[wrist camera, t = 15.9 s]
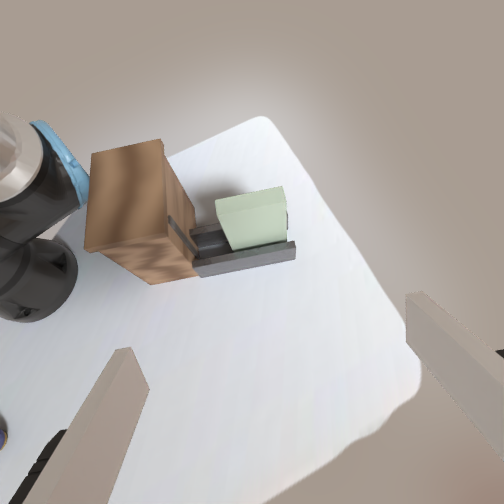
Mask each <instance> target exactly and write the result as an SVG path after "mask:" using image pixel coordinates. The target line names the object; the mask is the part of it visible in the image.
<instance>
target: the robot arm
mask: <svg viewBox="0 0 504 504" xmlns="http://www.w3.org/2000/svg"><path fill="white" fill-rule="evenodd" d="M89 180H90V177H89V176H88V174H87V173H86V172H85V170H84V169H83V168H82V166H81V165H80V164H79V163H78V162H77V161H76V159H75V158H74V156H73V155H72V153H71V152H70V151H69V150H68V148H67V147H66V146H65V145H64V143H63V142H62V141H61V139H60V138H59V137H58V136H57V134H55V132H54V131H53V129H52V128H51V127H50V126H49V125H48V124H47V123H46V122H45V121H42V120H38V121H36V122H30V123H27V122H26V121H24V120H23V119H21V118H20V117H18V116H16V115H13V114H10V113H6V112H0V317H2V318H4V319H7V320H11V321H16V322H21V323H29V322H35V321H38V320H41V319H43V318H45V317H47V316H49V315H50V314H52V313H53V312H55V311H56V310H57V309H58V308H59V307H60V306H61V305H62V304H63V303H64V302H65V301H66V300H67V298H68V297H69V295H70V294H71V292H72V290H73V288H74V285H75V283H76V279H77V272H78V267H77V262H76V259H75V257H74V255H73V253H72V252H71V251H70V250H69V249H67V248H66V247H64V246H62V245H61V244H59V243H57V242H54V241H51V240H46V239H40V238H36V237H37V236H39V235H40V234H42V233H43V232H45V231H46V230H47V229H49V228H50V227H52V226H53V225H55V224H56V223H58V222H59V221H61V220H62V219H64V218H65V217H67V216H68V215H70V214H71V213H73V212H74V211H76V210H77V209H80V208H81V207H82V206H83V204H84V203H86V202H87V201H88V192H89ZM406 343H407V344H408V345H409V346H410V348H411V349H412V350H413V351H414V353H415V354H416V355H417V356H418V358H419V359H420V360H421V361H422V362H423V363H424V365H425V366H426V367H427V369H428V370H429V371H430V372H431V373H432V375H433V376H434V377H435V378H436V379H437V381H438V382H439V383H440V384H441V386H442V387H443V388H444V389H445V391H446V392H447V393H448V394H449V395H450V397H451V398H452V399H453V400H454V402H455V403H456V404H457V405H458V406H459V407H460V409H461V410H462V411H463V413H464V414H465V415H466V416H467V417H468V419H469V420H470V421H471V422H472V424H473V425H474V426H475V427H476V428H477V430H478V431H479V432H480V433H481V435H482V436H483V437H484V438H485V440H486V441H487V442H488V443H489V444H490V446H491V447H492V448H493V449H494V451H495V452H496V453H497V454H498V455H499V457H500V458H501V459H502V460H503V462H504V349H503V350H497V351H494V350H493V349H491V348H490V347H489V346H488V345H487V344H485V343H484V342H483V341H482V340H481V339H479V338H478V337H477V336H476V335H475V334H473V333H472V332H471V331H470V330H468V329H467V328H466V327H465V326H464V325H463V324H461V323H460V322H459V321H458V320H457V319H455V318H454V317H453V316H451V315H450V314H449V313H448V312H447V311H446V310H444V309H443V308H442V307H441V306H440V305H438V304H437V303H436V302H435V301H434V300H432V299H431V298H430V297H429V296H428V295H426V294H425V293H424V292H423V291H420V292H415V293H409V294H406ZM149 390H150V389H149V386H148V384H147V382H146V380H145V377H144V375H143V373H142V371H141V368H140V366H139V364H138V362H137V359H136V357H135V355H134V353H133V350H132V348H131V347H127V348H122V349H117V350H115V352H114V353H113V355H112V357H111V358H110V360H109V362H108V363H107V365H106V367H105V368H104V370H103V371H102V373H101V375H100V376H99V378H98V380H97V381H96V383H95V385H94V386H93V388H92V390H91V391H90V393H89V395H88V396H87V398H86V400H85V401H84V403H83V404H82V406H81V408H80V409H79V411H78V413H77V414H76V416H75V418H74V419H73V421H72V423H71V424H70V426H69V428H68V429H65V430H60V431H59V432H58V433H57V434H56V435H55V436H54V437H53V438H52V439H51V440H50V442H49V443H48V444H47V445H46V446H45V448H44V449H43V451H42V452H41V454H40V456H39V457H38V459H37V462H36V463H34V465H33V466H32V468H31V469H30V471H29V473H28V476H26V477H25V479H24V480H23V482H22V483H21V485H20V487H19V488H18V490H17V491H16V493H15V494H14V496H13V497H12V499H11V501H10V502H9V504H107V503H108V501H109V498H110V495H111V493H112V490H113V487H114V485H115V482H116V479H117V476H118V474H119V471H120V468H121V466H122V463H123V460H124V458H125V455H126V452H127V450H128V447H129V444H130V441H131V439H132V436H133V433H134V431H135V428H136V425H137V423H138V420H139V417H140V415H141V412H142V409H143V406H144V404H145V401H146V398H147V396H148V393H149Z"/></svg>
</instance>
